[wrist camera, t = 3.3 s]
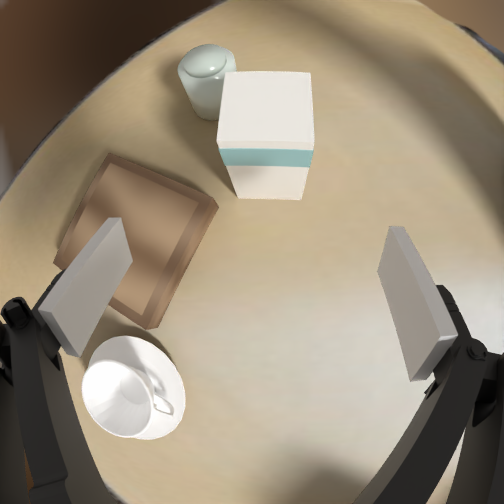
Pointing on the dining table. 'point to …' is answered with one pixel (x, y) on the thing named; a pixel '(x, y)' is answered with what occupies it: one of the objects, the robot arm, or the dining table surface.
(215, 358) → the dining table surface
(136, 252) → the podium
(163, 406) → the teacup
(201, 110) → the celadon jar
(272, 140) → the milk carton
